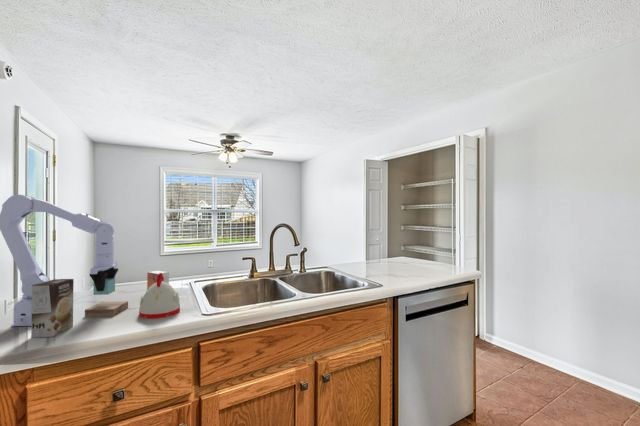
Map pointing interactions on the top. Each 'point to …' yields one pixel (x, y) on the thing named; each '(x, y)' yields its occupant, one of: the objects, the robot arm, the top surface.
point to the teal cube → (106, 287)
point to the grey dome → (159, 300)
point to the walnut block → (106, 309)
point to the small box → (153, 277)
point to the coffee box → (52, 307)
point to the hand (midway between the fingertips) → (104, 289)
